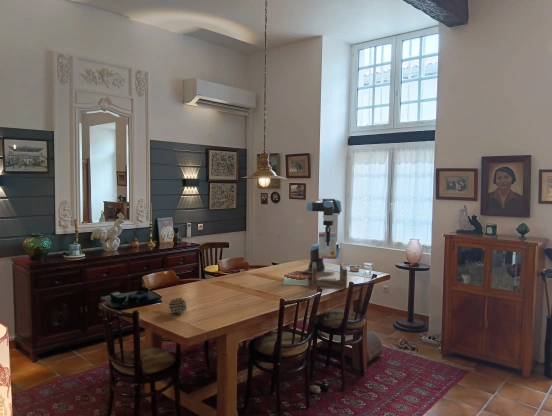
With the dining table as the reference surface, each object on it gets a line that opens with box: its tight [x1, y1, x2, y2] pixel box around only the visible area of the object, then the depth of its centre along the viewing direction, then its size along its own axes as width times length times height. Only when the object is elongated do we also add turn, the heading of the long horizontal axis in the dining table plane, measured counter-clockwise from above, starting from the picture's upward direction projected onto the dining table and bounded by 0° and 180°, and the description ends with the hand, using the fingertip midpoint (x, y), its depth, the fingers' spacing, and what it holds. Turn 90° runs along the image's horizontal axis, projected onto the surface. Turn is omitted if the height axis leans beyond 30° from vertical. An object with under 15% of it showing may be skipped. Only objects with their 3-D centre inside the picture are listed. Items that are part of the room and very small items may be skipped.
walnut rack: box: [311, 262, 348, 289], centre depth 343 cm, size 26×26×14 cm
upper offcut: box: [320, 276, 337, 280], centre depth 340 cm, size 6×12×2 cm, turn 82°
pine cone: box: [165, 297, 188, 314], centre depth 266 cm, size 22×10×10 cm, turn 49°
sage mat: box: [282, 276, 310, 287], centre depth 347 cm, size 24×20×1 cm
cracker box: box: [318, 231, 338, 260], centre depth 344 cm, size 14×6×21 cm, turn 85°
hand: (327, 249), depth 344 cm, fingers closed on cracker box, 6 cm apart
